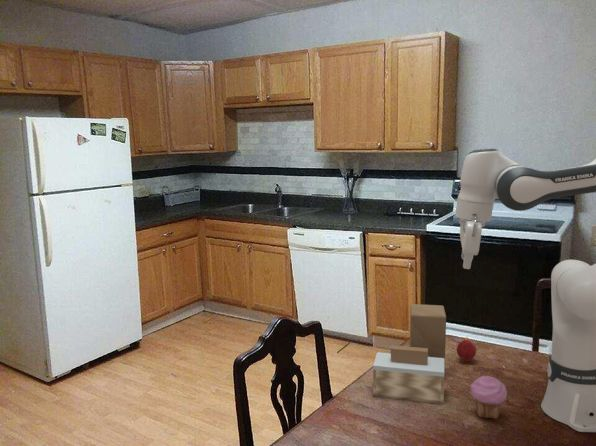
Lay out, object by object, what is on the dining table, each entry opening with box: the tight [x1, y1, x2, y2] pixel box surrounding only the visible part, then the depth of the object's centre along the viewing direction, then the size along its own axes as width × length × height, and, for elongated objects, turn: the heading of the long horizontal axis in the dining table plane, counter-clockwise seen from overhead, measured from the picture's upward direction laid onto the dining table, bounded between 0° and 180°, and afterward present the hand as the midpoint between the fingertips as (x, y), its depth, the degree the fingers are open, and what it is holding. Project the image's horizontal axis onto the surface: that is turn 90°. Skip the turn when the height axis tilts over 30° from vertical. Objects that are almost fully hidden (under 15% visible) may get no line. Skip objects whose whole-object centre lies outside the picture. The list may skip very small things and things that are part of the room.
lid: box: [372, 344, 444, 377], centre depth 142 cm, size 19×9×6 cm, turn 74°
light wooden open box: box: [372, 369, 445, 405], centre depth 143 cm, size 19×9×8 cm, turn 74°
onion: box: [456, 336, 477, 362], centre depth 162 cm, size 6×6×8 cm
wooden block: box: [409, 303, 447, 379], centre depth 155 cm, size 10×10×20 cm
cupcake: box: [469, 375, 508, 420], centre depth 131 cm, size 9×9×10 cm
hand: (465, 263), depth 133 cm, fingers open, 8 cm apart
